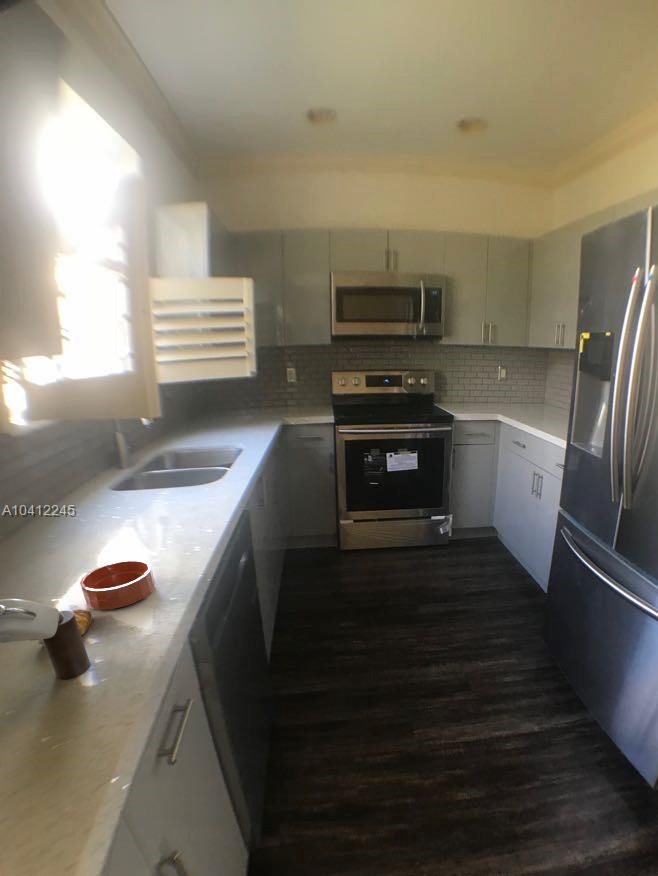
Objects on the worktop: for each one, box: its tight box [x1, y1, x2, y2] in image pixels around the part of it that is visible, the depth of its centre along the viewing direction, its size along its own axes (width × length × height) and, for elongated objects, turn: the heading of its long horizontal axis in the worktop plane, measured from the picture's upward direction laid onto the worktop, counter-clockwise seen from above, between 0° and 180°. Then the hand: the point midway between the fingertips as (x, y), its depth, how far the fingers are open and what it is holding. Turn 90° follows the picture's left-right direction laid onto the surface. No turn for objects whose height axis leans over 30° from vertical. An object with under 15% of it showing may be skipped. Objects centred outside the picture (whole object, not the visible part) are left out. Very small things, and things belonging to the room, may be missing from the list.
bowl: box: [79, 559, 156, 610], centre depth 97 cm, size 13×13×5 cm
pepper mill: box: [43, 610, 91, 680], centre depth 74 cm, size 5×5×11 cm
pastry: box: [36, 609, 93, 648], centre depth 85 cm, size 9×7×4 cm
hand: (1, 637), depth 61 cm, fingers open, 8 cm apart
